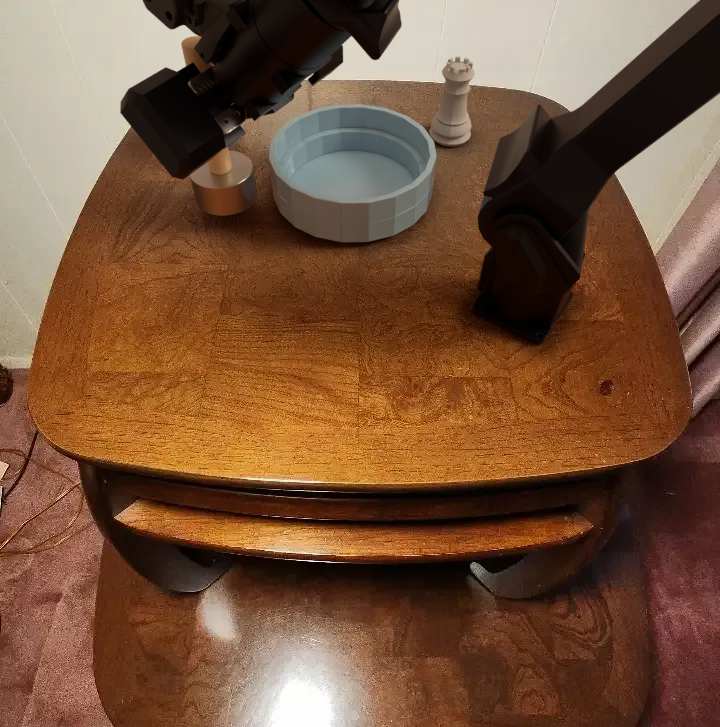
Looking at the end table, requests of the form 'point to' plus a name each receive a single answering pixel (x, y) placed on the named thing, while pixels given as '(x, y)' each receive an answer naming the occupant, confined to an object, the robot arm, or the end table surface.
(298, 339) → the end table surface
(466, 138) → the rook chess piece
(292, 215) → the bowl
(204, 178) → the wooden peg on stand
